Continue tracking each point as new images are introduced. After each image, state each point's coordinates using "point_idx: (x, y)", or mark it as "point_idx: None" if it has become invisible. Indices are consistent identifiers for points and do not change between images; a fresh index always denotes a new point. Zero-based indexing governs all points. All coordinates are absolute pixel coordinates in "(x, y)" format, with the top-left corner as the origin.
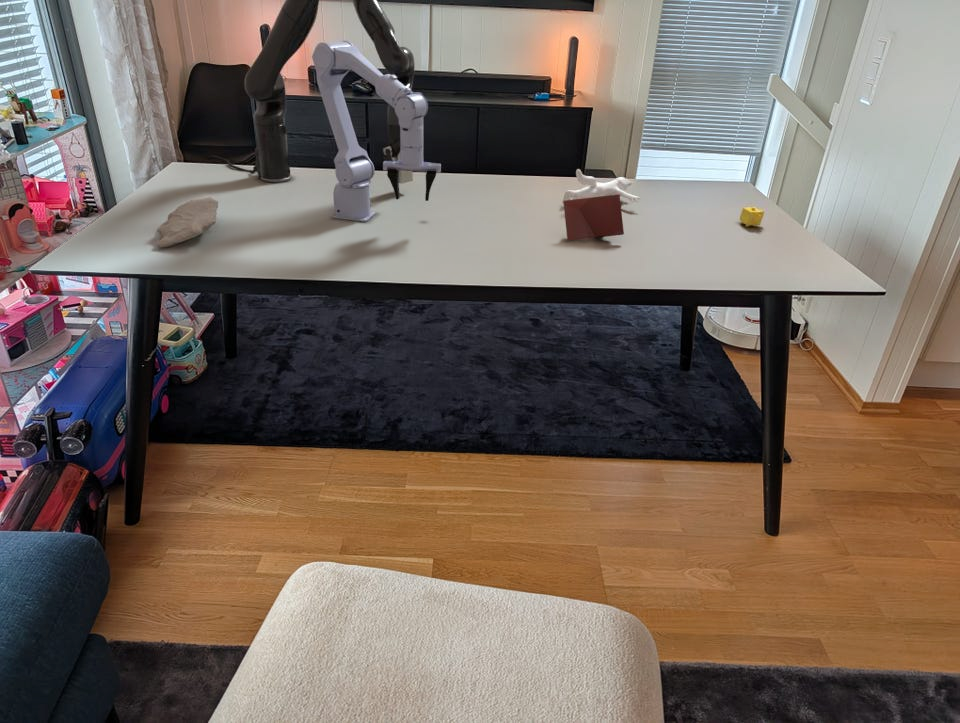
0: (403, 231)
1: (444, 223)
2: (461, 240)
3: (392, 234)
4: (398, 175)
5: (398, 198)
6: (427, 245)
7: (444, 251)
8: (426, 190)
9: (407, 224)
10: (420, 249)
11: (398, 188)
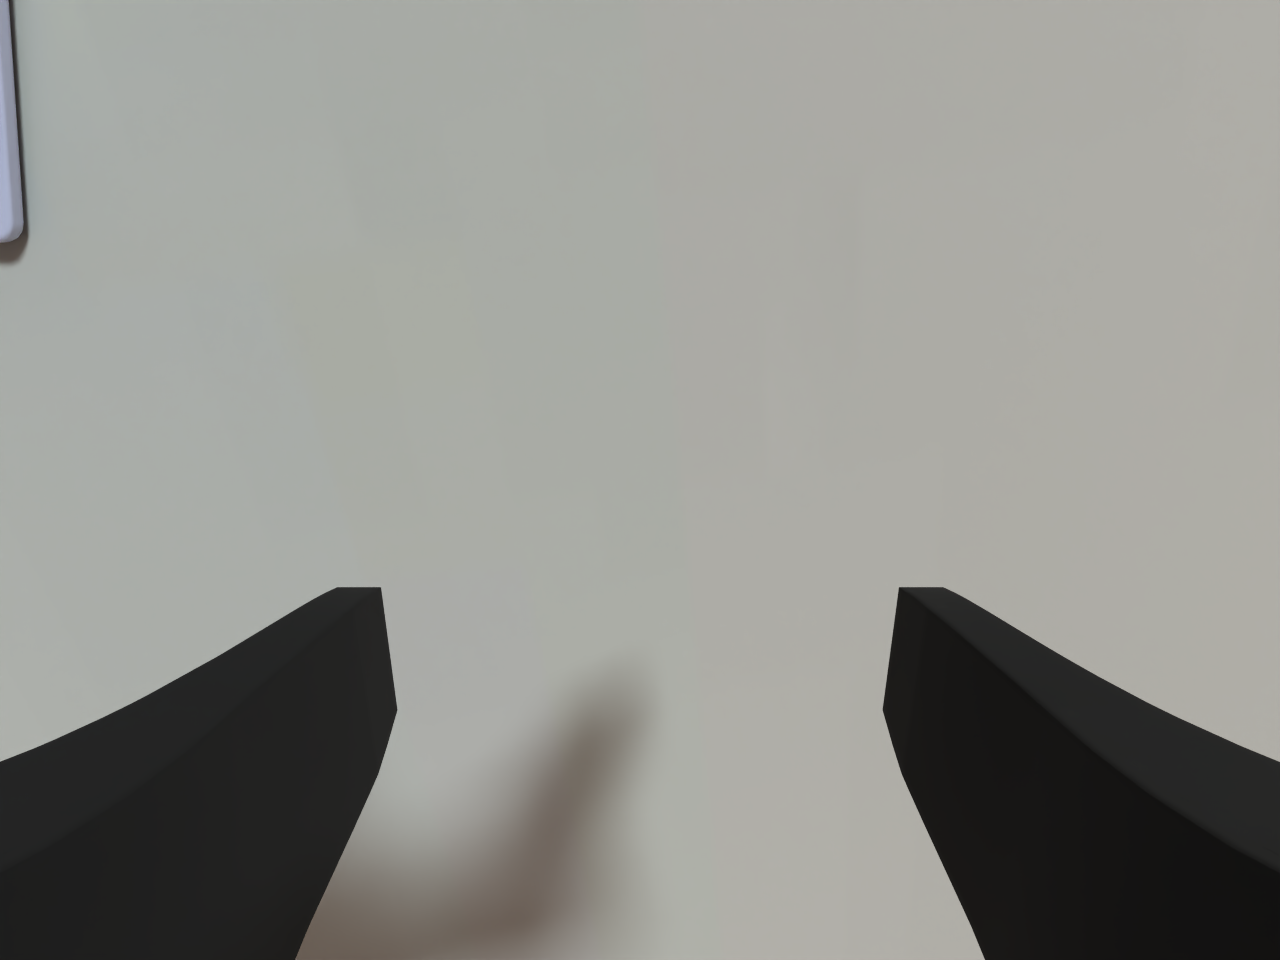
0: (544, 478)
1: (1027, 117)
2: (1138, 643)
3: (448, 576)
4: (91, 913)
5: (391, 712)
6: (808, 786)
7: (948, 879)
8: (977, 914)
9: (552, 233)
10: (751, 865)
11: (306, 742)
